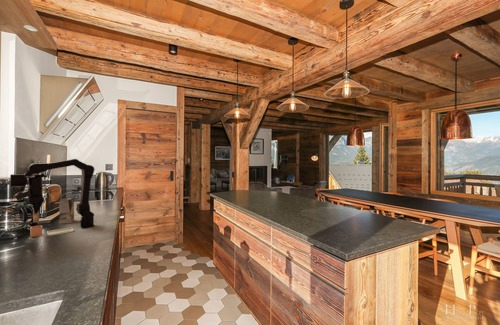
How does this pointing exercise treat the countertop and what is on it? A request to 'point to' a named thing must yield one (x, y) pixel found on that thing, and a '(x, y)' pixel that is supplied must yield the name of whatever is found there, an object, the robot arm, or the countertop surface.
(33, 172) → the robot arm
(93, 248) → the countertop surface
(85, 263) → the countertop surface
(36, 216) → the pin
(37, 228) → the orange open box
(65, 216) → the coffee box
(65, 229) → the tray
